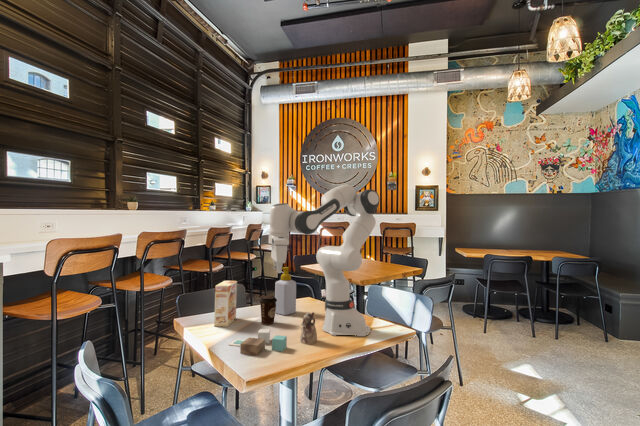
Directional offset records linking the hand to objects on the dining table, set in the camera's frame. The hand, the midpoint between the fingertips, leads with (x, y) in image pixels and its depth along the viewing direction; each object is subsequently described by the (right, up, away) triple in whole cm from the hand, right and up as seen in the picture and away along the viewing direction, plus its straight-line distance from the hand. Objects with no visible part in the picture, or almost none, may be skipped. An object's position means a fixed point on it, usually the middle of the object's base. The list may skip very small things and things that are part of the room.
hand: (277, 271), depth 146 cm
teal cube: (+2, -28, -14) cm, 32 cm away
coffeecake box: (-28, -29, +20) cm, 46 cm away
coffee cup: (-7, -29, +19) cm, 36 cm away
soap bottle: (-1, -30, +38) cm, 49 cm away
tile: (-15, -28, -8) cm, 33 cm away
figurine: (+14, -29, -5) cm, 32 cm away
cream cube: (-5, -29, -6) cm, 30 cm away
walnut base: (-7, -28, -16) cm, 34 cm away
